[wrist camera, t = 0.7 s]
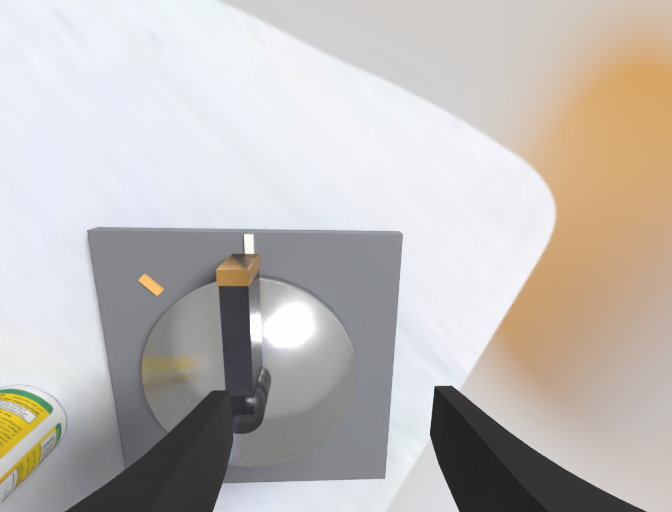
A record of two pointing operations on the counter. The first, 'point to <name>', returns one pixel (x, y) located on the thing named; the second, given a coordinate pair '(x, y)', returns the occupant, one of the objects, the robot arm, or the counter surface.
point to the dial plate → (275, 260)
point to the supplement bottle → (26, 432)
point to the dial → (253, 362)
